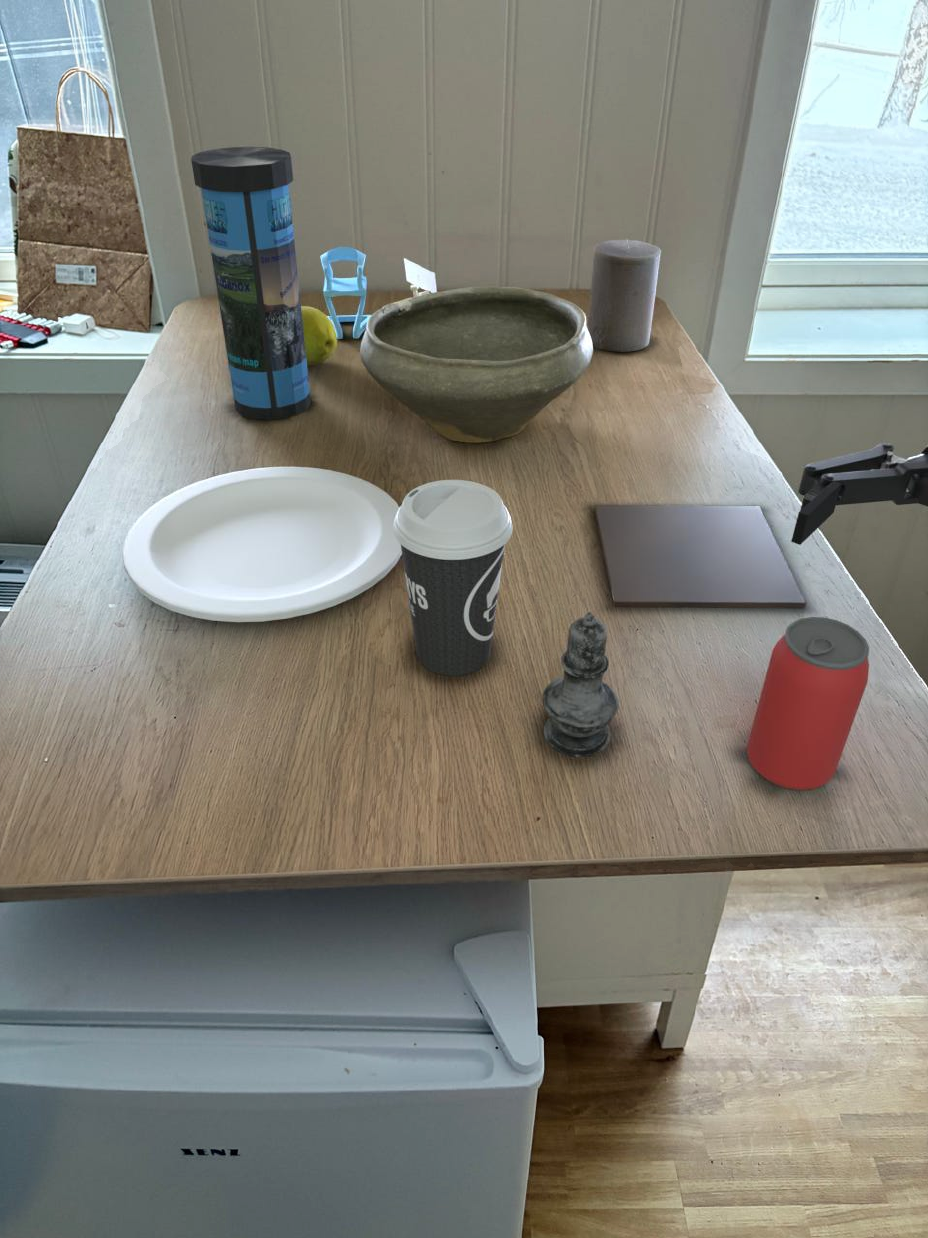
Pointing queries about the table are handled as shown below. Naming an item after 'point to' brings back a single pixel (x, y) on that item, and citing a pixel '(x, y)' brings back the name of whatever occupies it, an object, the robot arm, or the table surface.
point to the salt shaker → (581, 693)
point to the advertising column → (256, 276)
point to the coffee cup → (453, 570)
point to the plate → (263, 544)
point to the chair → (345, 289)
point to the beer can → (808, 702)
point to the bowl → (477, 357)
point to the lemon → (317, 335)
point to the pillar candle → (623, 294)
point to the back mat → (694, 557)
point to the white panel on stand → (420, 278)
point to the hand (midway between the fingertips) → (885, 560)
